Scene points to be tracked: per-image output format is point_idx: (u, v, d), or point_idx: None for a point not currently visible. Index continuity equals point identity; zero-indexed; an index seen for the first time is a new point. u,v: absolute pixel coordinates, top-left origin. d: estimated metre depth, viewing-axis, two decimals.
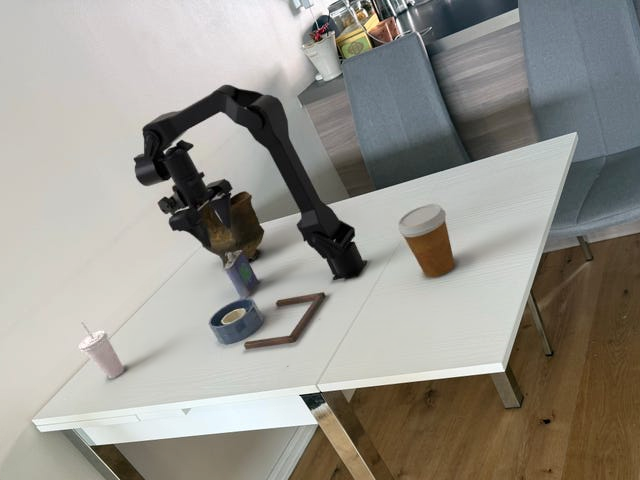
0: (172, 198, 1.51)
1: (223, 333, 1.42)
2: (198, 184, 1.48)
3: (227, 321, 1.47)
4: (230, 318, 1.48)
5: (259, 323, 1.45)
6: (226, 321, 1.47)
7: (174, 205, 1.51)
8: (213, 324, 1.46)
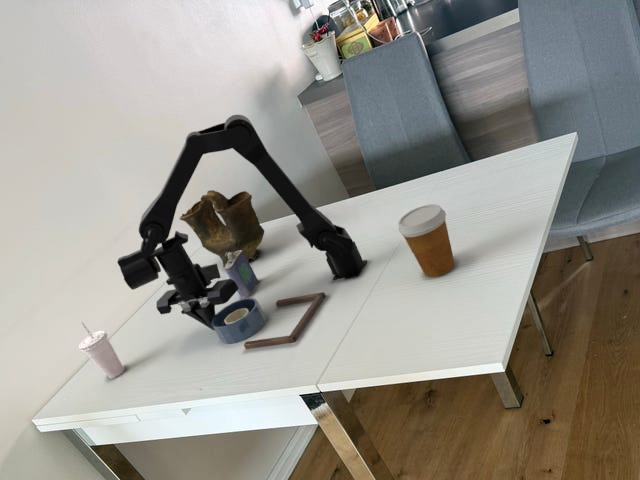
0: None
1: (226, 333, 1.42)
2: (176, 286, 1.41)
3: (230, 321, 1.47)
4: (233, 317, 1.47)
5: (262, 323, 1.44)
6: (229, 321, 1.46)
7: None
8: (216, 324, 1.46)
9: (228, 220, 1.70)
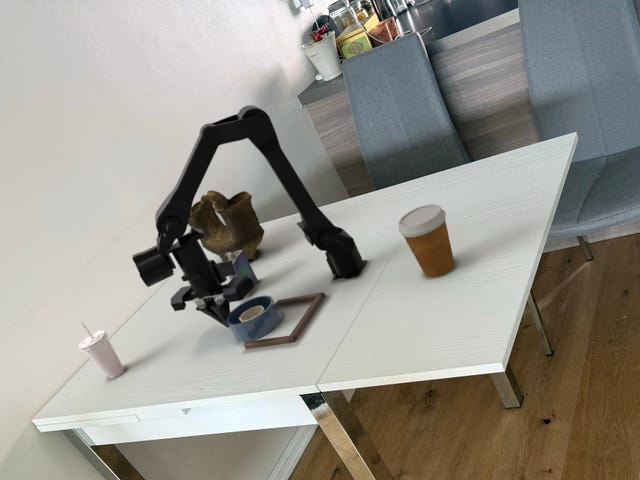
0: None
1: (241, 331, 1.40)
2: (191, 282, 1.39)
3: (245, 318, 1.45)
4: (248, 315, 1.45)
5: (278, 320, 1.42)
6: (244, 318, 1.45)
7: None
8: (231, 321, 1.44)
9: (228, 220, 1.70)
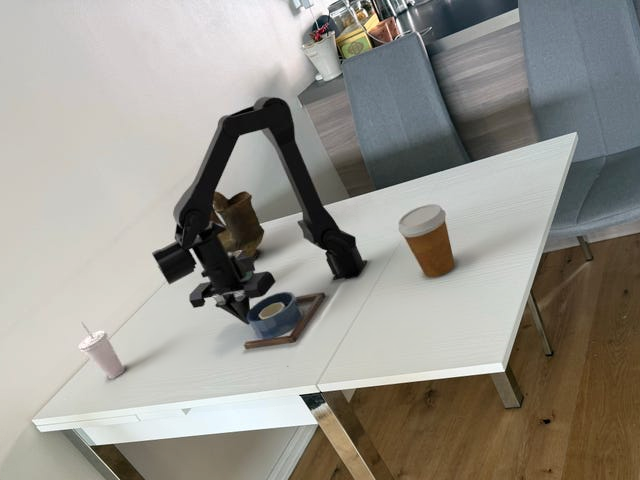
0: None
1: (262, 327, 1.37)
2: (211, 278, 1.37)
3: (264, 315, 1.42)
4: (267, 312, 1.43)
5: (299, 317, 1.40)
6: (263, 315, 1.42)
7: None
8: (251, 318, 1.41)
9: (228, 220, 1.70)
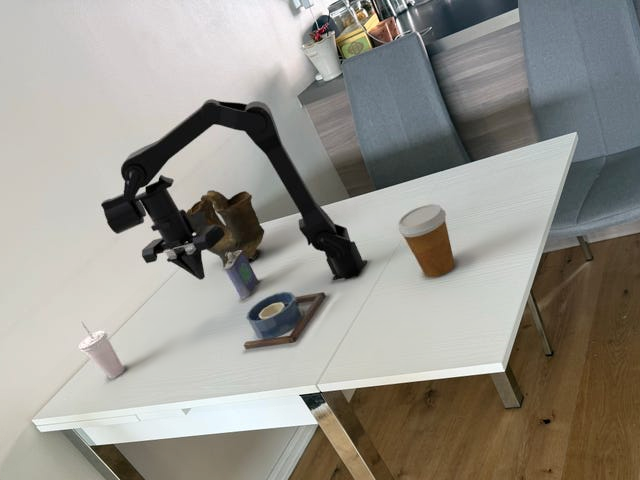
0: None
1: (262, 328, 1.37)
2: (161, 232, 1.39)
3: (264, 315, 1.42)
4: (267, 312, 1.43)
5: (299, 317, 1.40)
6: (263, 315, 1.42)
7: None
8: (251, 318, 1.41)
9: (228, 220, 1.70)
